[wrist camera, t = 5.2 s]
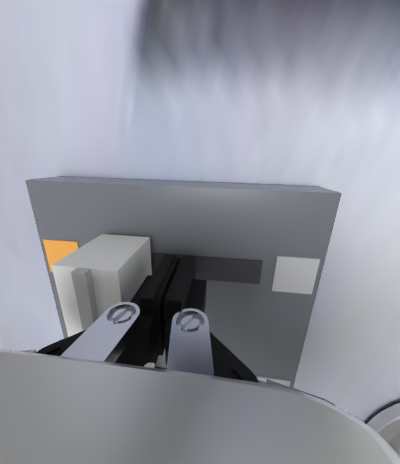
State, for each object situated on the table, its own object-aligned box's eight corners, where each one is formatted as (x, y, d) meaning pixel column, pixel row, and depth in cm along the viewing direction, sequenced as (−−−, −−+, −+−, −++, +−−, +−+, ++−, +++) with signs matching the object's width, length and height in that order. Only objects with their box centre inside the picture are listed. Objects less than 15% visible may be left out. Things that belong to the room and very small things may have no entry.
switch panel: (317, 186, 14) (342, 193, 11) (260, 455, 24) (265, 496, 21) (61, 176, 15) (23, 180, 13) (109, 430, 25) (94, 465, 23)
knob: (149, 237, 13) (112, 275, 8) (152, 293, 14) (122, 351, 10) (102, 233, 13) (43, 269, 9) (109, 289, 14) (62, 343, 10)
